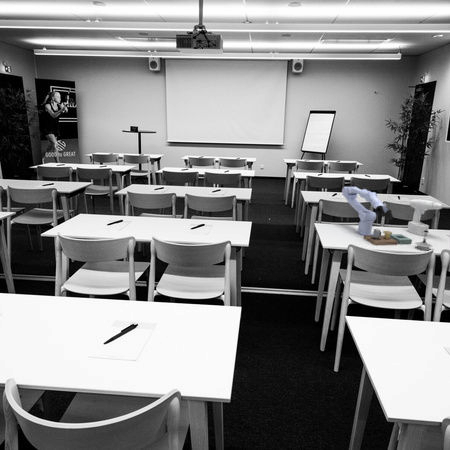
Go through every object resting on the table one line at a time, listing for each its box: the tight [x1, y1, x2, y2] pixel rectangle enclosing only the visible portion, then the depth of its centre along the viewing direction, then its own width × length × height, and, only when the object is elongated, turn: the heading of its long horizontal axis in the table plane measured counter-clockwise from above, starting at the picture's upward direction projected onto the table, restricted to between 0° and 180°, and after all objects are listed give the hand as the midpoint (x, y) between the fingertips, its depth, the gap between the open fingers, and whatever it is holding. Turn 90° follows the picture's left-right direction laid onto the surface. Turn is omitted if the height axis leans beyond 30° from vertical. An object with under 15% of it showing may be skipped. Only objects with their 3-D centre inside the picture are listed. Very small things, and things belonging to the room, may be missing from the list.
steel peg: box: [372, 228, 381, 240], centre depth 264 cm, size 4×4×8 cm
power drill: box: [407, 198, 444, 237], centre depth 284 cm, size 8×24×25 cm, turn 27°
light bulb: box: [414, 230, 433, 251], centre depth 254 cm, size 12×10×10 cm
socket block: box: [363, 234, 398, 246], centre depth 265 cm, size 14×16×2 cm
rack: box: [390, 233, 413, 245], centre depth 268 cm, size 12×9×3 cm
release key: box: [382, 230, 393, 239], centre depth 265 cm, size 4×4×4 cm
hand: (388, 217), depth 258 cm, fingers open, 7 cm apart
